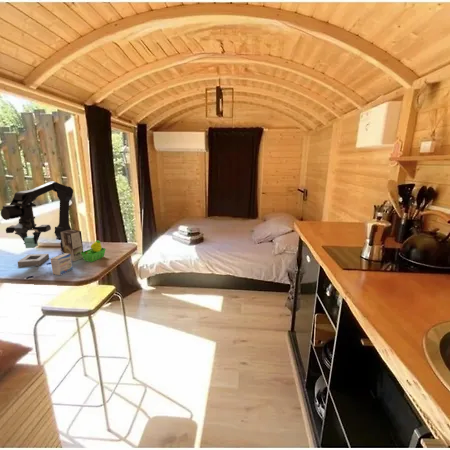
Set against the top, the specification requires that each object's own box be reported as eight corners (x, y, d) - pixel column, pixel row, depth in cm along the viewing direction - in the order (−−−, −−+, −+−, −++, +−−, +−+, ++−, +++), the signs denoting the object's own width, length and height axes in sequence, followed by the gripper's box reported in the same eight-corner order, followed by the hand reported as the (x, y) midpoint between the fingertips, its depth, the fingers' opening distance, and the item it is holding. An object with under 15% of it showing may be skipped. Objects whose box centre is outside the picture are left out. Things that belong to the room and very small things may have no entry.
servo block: (39, 244, 140) (37, 234, 139) (32, 248, 133) (31, 238, 132) (31, 244, 139) (29, 235, 138) (24, 249, 133) (22, 238, 131)
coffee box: (84, 257, 146) (81, 231, 142) (74, 261, 141) (70, 233, 137) (74, 254, 150) (71, 228, 146) (63, 258, 144) (60, 231, 140)
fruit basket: (97, 254, 152) (95, 236, 149) (108, 256, 149) (107, 238, 146) (81, 261, 141) (78, 242, 138) (93, 263, 138) (91, 244, 135)
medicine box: (60, 275, 123) (57, 259, 121) (52, 274, 124) (50, 258, 122) (72, 269, 131) (70, 253, 129) (65, 268, 132) (63, 252, 129)
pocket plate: (49, 257, 145) (48, 253, 144) (39, 265, 134) (39, 260, 134) (29, 258, 143) (28, 254, 142) (18, 266, 132) (17, 261, 132)
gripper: (-4, 219, 123) (2, 249, 126) (39, 218, 126) (43, 248, 130) (9, 215, 133) (15, 242, 137) (49, 214, 137) (53, 241, 141)
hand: (31, 244), depth 136 cm, fingers closed on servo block, 4 cm apart
